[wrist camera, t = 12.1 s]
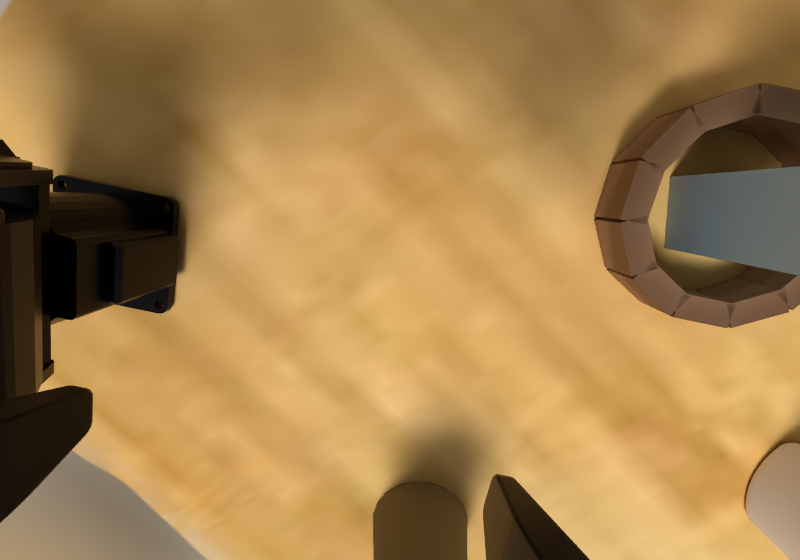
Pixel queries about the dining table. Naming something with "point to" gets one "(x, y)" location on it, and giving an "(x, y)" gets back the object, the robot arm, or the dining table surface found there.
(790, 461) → the eye dropper bottle
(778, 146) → the bead ring
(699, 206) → the blue-gray square peg
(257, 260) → the dining table surface
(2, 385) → the robot arm
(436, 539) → the cork
